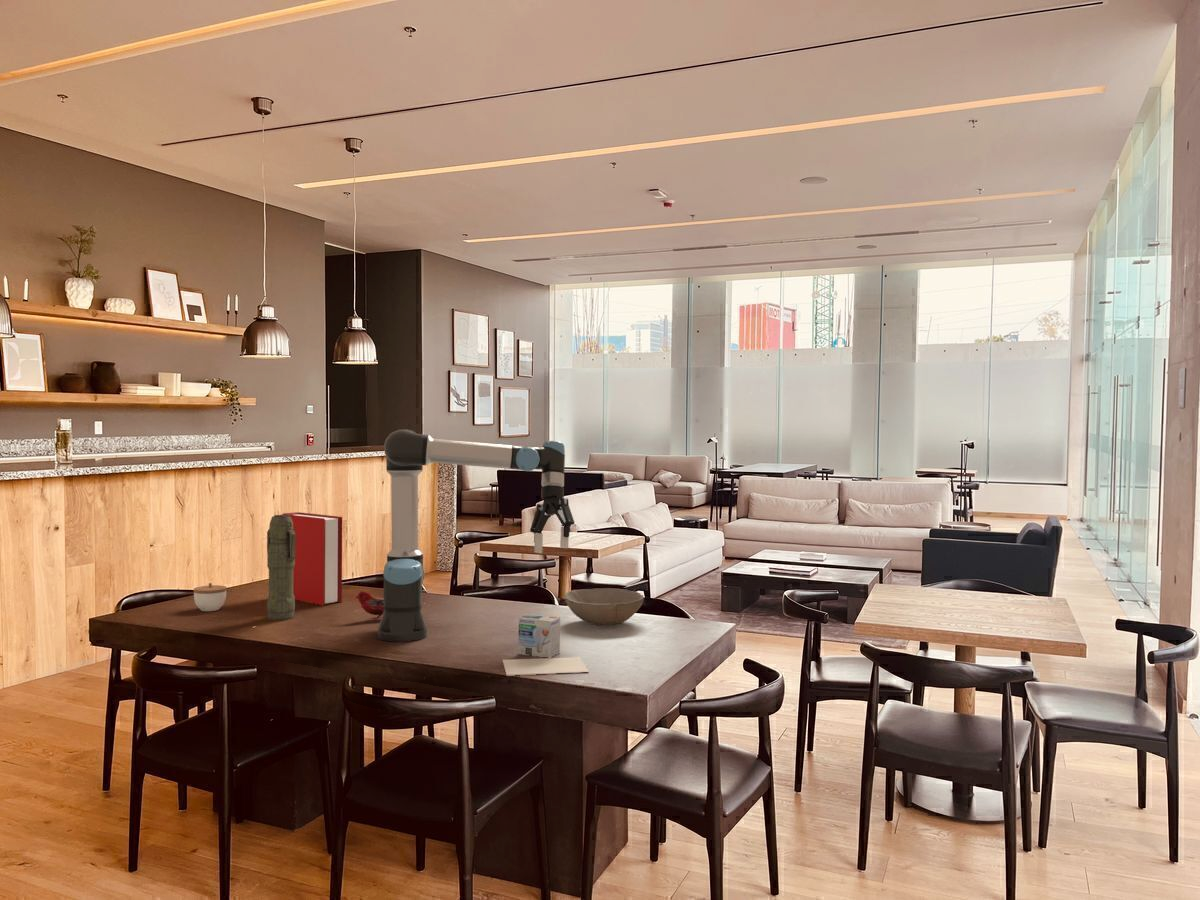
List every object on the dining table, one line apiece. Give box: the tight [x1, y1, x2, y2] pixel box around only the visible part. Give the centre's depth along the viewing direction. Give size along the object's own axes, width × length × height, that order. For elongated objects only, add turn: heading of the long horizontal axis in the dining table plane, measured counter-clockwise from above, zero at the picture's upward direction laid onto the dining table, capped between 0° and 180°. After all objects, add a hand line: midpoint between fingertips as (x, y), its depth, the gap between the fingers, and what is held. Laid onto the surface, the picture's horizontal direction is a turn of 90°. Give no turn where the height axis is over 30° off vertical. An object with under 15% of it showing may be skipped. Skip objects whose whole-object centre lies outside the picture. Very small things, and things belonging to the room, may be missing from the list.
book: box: [281, 511, 343, 606], centre depth 332 cm, size 27×8×32 cm, turn 54°
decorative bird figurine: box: [354, 590, 384, 620], centre depth 299 cm, size 3×18×10 cm, turn 108°
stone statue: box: [266, 514, 296, 621], centre depth 300 cm, size 9×12×35 cm
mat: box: [502, 656, 590, 677], centre depth 241 cm, size 22×15×1 cm
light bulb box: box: [517, 613, 561, 658], centre depth 256 cm, size 11×7×11 cm, turn 68°
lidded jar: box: [193, 582, 228, 612], centre depth 312 cm, size 11×11×9 cm
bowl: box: [564, 587, 645, 627], centre depth 297 cm, size 26×26×10 cm
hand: (551, 550), depth 286 cm, fingers open, 13 cm apart
